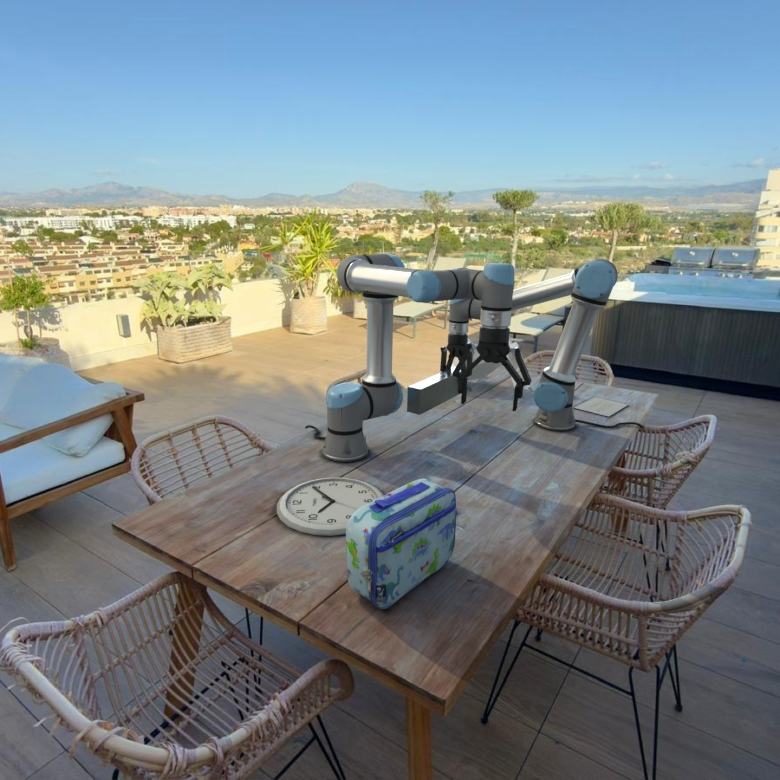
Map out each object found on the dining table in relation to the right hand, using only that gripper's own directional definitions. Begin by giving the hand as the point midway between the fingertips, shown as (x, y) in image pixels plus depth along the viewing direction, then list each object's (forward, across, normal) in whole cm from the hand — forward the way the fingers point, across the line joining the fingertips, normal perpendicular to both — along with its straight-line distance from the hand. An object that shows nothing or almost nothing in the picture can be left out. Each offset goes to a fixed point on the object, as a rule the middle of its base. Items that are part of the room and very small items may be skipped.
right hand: (454, 391), depth 206 cm
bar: (+1, 0, -13) cm, 13 cm away
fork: (+11, +35, -70) cm, 79 cm away
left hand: (-17, +38, -54) cm, 68 cm away
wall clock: (+11, +6, -81) cm, 82 cm away
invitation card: (+11, +45, +52) cm, 69 cm away
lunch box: (+11, +39, -96) cm, 104 cm away
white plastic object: (+12, -7, +44) cm, 46 cm away
